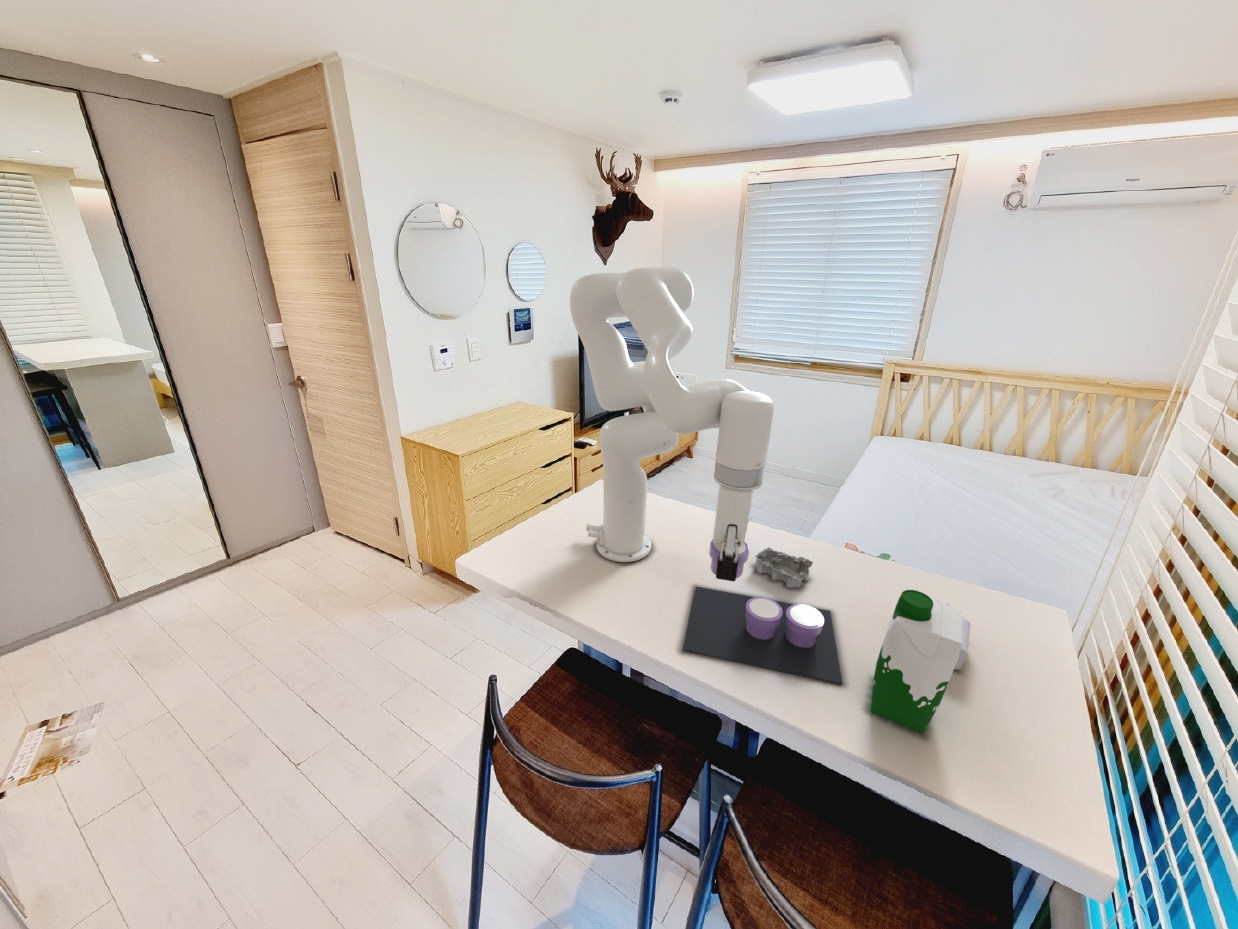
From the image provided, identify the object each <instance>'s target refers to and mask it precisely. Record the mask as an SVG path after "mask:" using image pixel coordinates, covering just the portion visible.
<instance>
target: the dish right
mask: <svg viewBox="0 0 1238 929" xmlns="http://www.w3.org/2000/svg"><path fill="white" fill-rule="evenodd" d="M794 604H795V603H794ZM815 608H816V607H812V606H810V605H807V604H803V603H797V604H795V605H791V606H790V607H788V609H787V610H786V615H785V623H786V630H785V636H786V638H787V639H788V641H789V642H791V643H792V644H794V645H796V646H798V647H802V648H809V647H812V646H814V645H815V644H816V641H817V637H818V635H819V634H820V633H821V632H822V629H823V625H824V618H823V616H822V614H821V613H820V612H819V611H818V610H816V609H815Z"/></svg>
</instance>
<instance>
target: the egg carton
mask: <svg viewBox="0 0 1238 929" xmlns="http://www.w3.org/2000/svg"><path fill="white" fill-rule="evenodd" d="M754 557H755V558H756V560H755V568H756V573H759V574H768V575H770V576H771V578H770V579H771V580H773V581H782V582H784V583H785V586H786V587H787V588H800V587H801V585H802V581H805V582H806V581H808V580H809V575H810V568H811V567H812V566H813V565H814V563H813V561H812V560H810V559H808V558H805V557H803V556H802V557H801V556H799V557H797V556H795V555H790V554H787V553H786V552H782V551H777V550H773V548H772V547H769V546H768V547H767V548H764V549H763V550H762V551H760V552H758V553H757V554H755V555H754Z"/></svg>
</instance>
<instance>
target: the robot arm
mask: <svg viewBox="0 0 1238 929" xmlns="http://www.w3.org/2000/svg"><path fill="white" fill-rule="evenodd" d="M693 300H694V286H693V283H692V280H691V279H690V277H689V275H688V274H687V273H686V272H684V271H683V270H682V269H680V268H678V267H670V266H668V267H639V268H634V269H631V270H629V271H627V272H598V273H597V272H596V273H590V274H587V275H586V274H585V275H584V276H581V277H579V278H578V279H576V280H575V282H574V283H573V285H572V287H571V290H570V295H569V308H570V315H571V319H572V322H573V325H574V327H575V330H576V332H577V334H578V336H579V339H580V341H581V343H582V345H583V347H584V350H585V354H586V358H587V362H588V368H589V372H590V375H591V380H592V384H593V388H594V393H595V396H596V399H597V402H598V405H599V406H600V408H602V409H603V410H606V411H607V412H608V411H609V412H617V411H623V410H629V409H634V408H639V407H640V408H642V410H643V412H639V413H633V414H632V413H631V414H627V415H622V416H618V417H614V418H612V419H610V420H607V421H606V422H605V423H604V424H602V426H601V427H600V430H599V434H598V441H599V442H598V443H599V448H600V453H601V459H602V469H603V470H602V471H603V472H602V473H603V512H602V513H603V516H602V517H603V521H602V523H601V524H600V525H599V524H595V523H587V524H586V527H585V531H586V532H587V536H588V538H596V539H597V540H596V550H597V552H598V553H599V554H600V555H601V556H602V557H604V558H605V559H607V560H610V561H613V562H617V563H631V562H636V561H639V560H642V559H644V558H645V557H646V556H648V555H649V554H650V553H651V550H652V541H651V539H650V537H649V536H647V535H646V518H647V499H648V495H647V494H648V476H647V473H646V472H645V469H643V468H642V467H641V465H640V461H641V460H644V459H647V458H650V457H653V456H658V455H662V454H666V453H669V452H670V451H673V450H674V449H675V447H677V445H678V443H679V438H680V434H681V435H688V434H694V433H697V432H698V433H699V432H701V431H706V430H710V429H718V435H717V437H718V438H717V446H716V454H715V465H714V473H713V480H714V482H715V483H716V484H717V485H718V491H717V492H718V493H717V498H716V507H715V515H714V516H715V517H714V525H713V534H712V540H713V542H714V543H715V544H716V543H718V544H720V543H721V551H720V557H718V563H717V572H716V575H715V578H716V579H717V580H722V581H728V582H736V581H737V578H736V574H737V567H738V560H737V557H738V549H739V547H741V546H743V544H744V542H745V540H746V536H747V531H748V525H749V521H750V515H751V510H752V503H753V497H754V491H755V490H758V489H759V488H761V487H762V486H763V483H764V478H765V477H764V476H765V470H766V465H767V457H768V450H769V443H770V437H771V430H772V424H773V418H774V411H775V410H774V409H775V408H774V406H775V405H774V402H773V400H772V399H771V398H770V397H769V396H768V395H766V394H764V393H761V392H755V391H750V390H749V389H747V388H746V387H744V386H743V385H741V384H739V383H738V382H737V381H735V380H732V379H727V378H719V379H714V380H708V381H707V380H706V381H701V382H692V383H688V384H687V383H686V384H683V385H682V383H681V382H680V381H679V379H678V378H677V376H676V375H675V373H674V372H673V370H672V369H671V366H670V363H669V361H670V360H671V359H673V358H674V357H676V356H677V355H678V354H680V353H681V352H682V351H683V350H684V349H685V348H686V347H687V345H688V344H689V342H690V341H691V340H692V335H693V326H692V324H691V323H690V322H691V321H689V319H687V317H686V315H685V312H686V311H688V310H689V309H690V308H691V305H692V304H693ZM625 317H627V320H628V321H629V323H630V324H631V327H633V329H634V330H635V332H636V334H637V335H638V337H639V339H640V340H641V342H642V344H643V345H644V347H645V348H646V350H647V354H646V357H645V359H644V360H641V361H635V362H632V360H631V359H630V355H629V352H628V348H627V344H626V340H625V339H624V337H623V335H622V334H621V332H619V330H618V329H617V328H616V327H615V326H614V324H612V323H611V322H610V321H609V318H625ZM724 537H725V538H727V541H724ZM735 539H737V543H736V542H735ZM724 545H725V546H726V551H724ZM734 547H735V553H734Z"/></svg>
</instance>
